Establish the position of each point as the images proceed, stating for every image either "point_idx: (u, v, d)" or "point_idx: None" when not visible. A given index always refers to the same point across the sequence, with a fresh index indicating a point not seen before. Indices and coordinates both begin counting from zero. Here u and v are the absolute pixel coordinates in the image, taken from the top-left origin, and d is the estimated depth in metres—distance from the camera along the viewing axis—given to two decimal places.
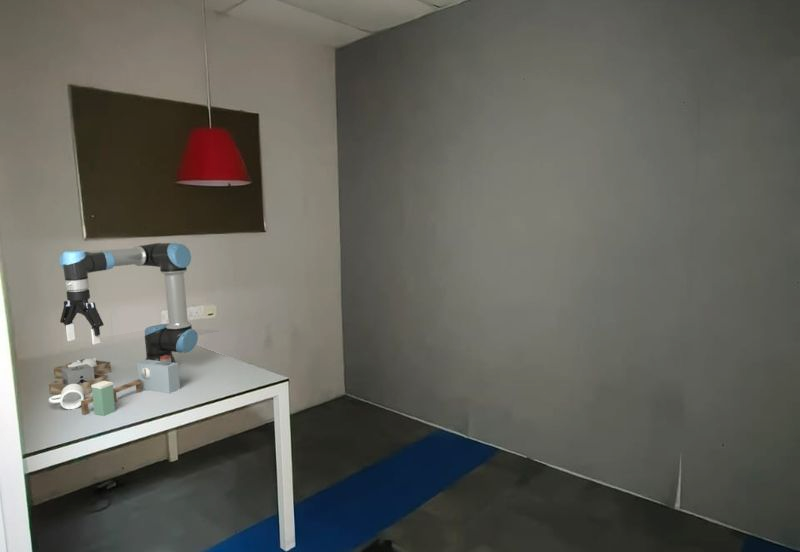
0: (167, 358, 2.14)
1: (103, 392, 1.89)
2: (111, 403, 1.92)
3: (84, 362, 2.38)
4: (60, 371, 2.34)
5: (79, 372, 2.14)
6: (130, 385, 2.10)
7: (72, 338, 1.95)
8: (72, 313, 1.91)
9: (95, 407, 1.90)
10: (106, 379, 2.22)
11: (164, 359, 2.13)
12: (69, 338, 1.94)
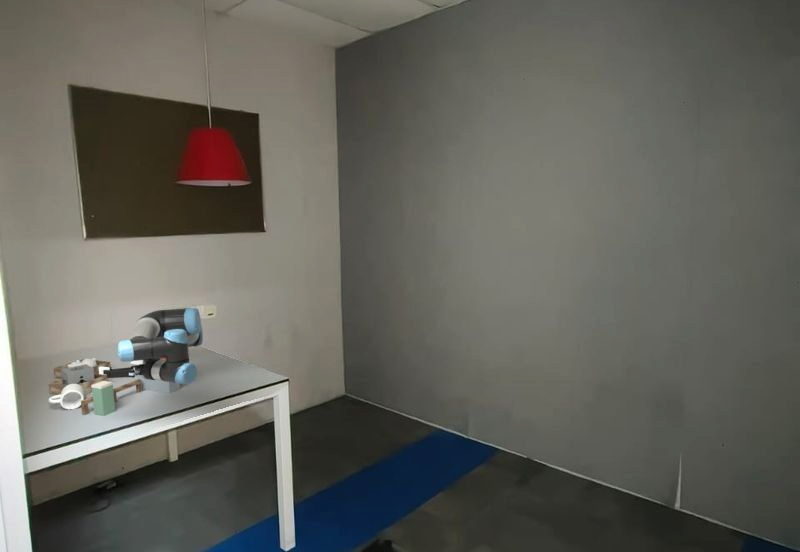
0: None
1: (103, 392, 1.89)
2: (111, 403, 1.92)
3: (84, 362, 2.38)
4: (60, 371, 2.34)
5: (79, 372, 2.13)
6: (130, 385, 2.10)
7: None
8: None
9: (95, 407, 1.90)
10: (106, 379, 2.22)
11: (164, 359, 2.13)
12: None
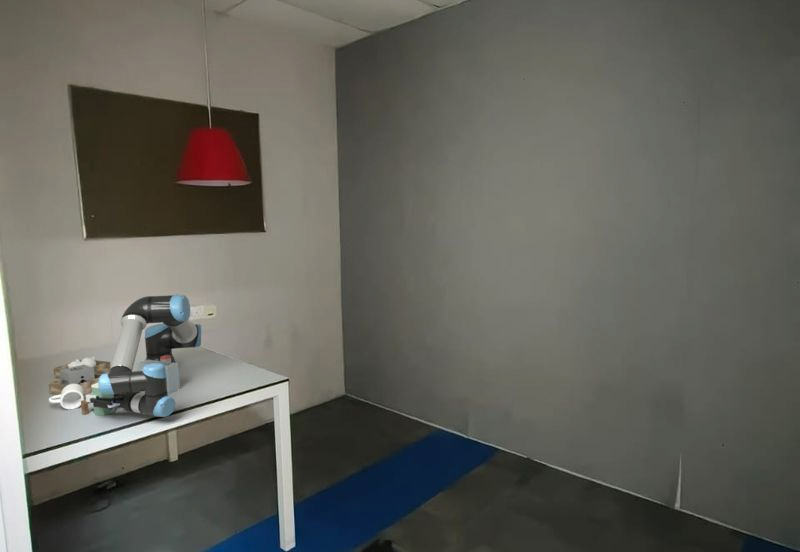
0: (167, 358, 2.14)
1: None
2: None
3: (84, 361, 2.40)
4: None
5: (80, 372, 2.13)
6: None
7: None
8: None
9: (95, 407, 1.90)
10: None
11: (164, 359, 2.13)
12: None
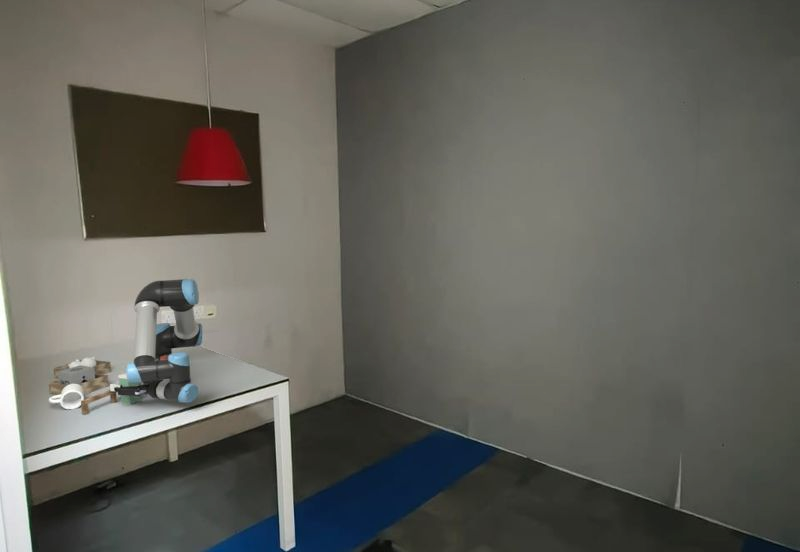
0: (167, 358, 2.14)
1: None
2: None
3: (85, 361, 2.40)
4: None
5: (81, 372, 2.13)
6: None
7: None
8: None
9: (122, 396, 2.01)
10: (106, 379, 2.22)
11: (164, 359, 2.13)
12: None
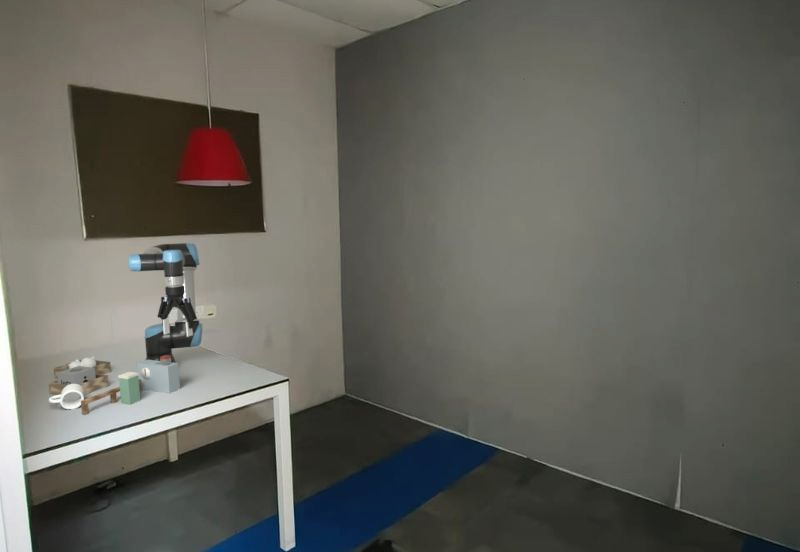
0: (167, 358, 2.14)
1: (130, 382, 2.00)
2: (137, 393, 2.03)
3: (85, 361, 2.40)
4: (60, 371, 2.34)
5: (83, 372, 2.13)
6: None
7: (167, 332, 2.13)
8: (169, 308, 2.10)
9: (122, 396, 2.01)
10: (106, 379, 2.22)
11: (164, 359, 2.13)
12: (165, 331, 2.12)
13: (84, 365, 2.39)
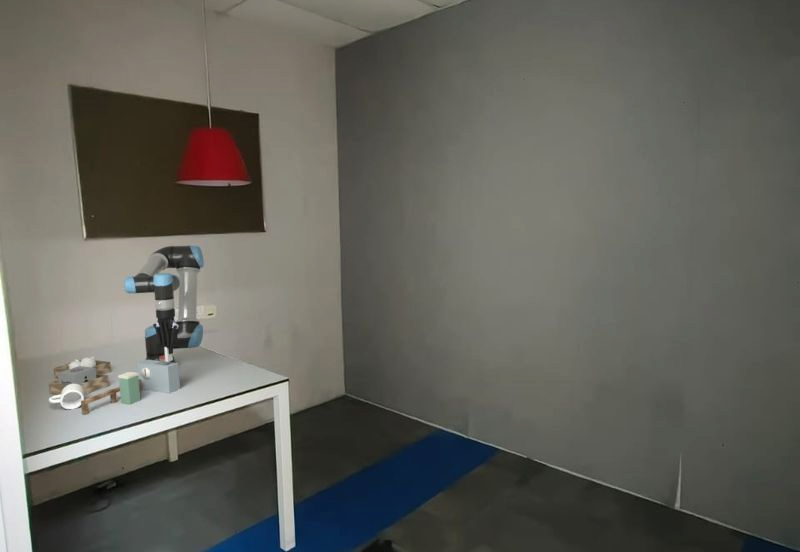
0: None
1: (130, 382, 2.00)
2: (137, 393, 2.03)
3: (85, 361, 2.40)
4: (60, 371, 2.34)
5: (83, 372, 2.13)
6: None
7: None
8: (164, 331, 2.13)
9: (122, 396, 2.01)
10: (106, 379, 2.22)
11: (163, 359, 2.14)
12: None
13: (84, 365, 2.39)
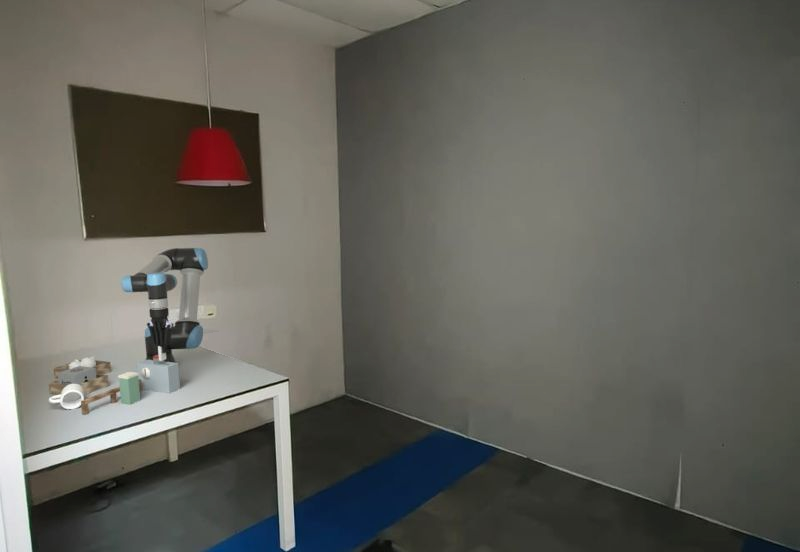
0: None
1: (130, 382, 2.00)
2: (137, 393, 2.03)
3: (85, 361, 2.40)
4: (60, 371, 2.34)
5: (83, 372, 2.13)
6: None
7: None
8: (157, 330, 2.14)
9: (122, 396, 2.01)
10: (106, 379, 2.22)
11: (157, 358, 2.15)
12: None
13: (84, 365, 2.39)
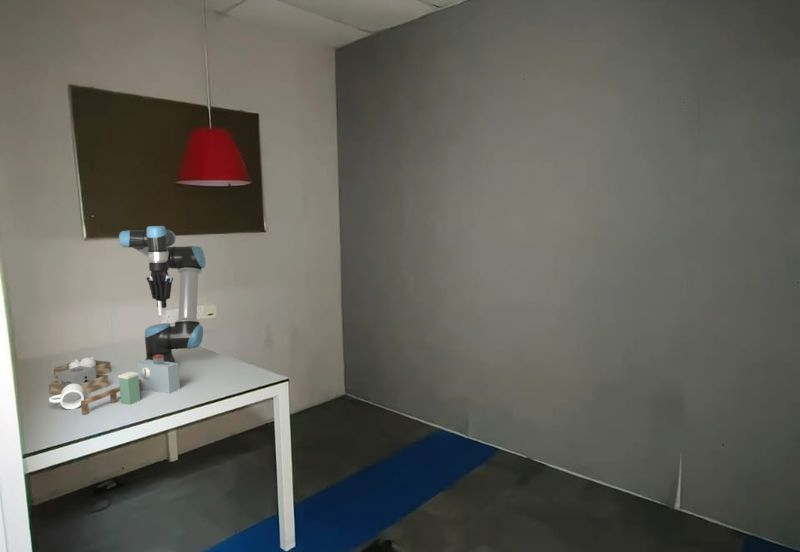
0: (160, 357, 2.16)
1: (130, 382, 2.00)
2: (137, 393, 2.03)
3: (85, 360, 2.40)
4: (60, 371, 2.34)
5: (83, 372, 2.13)
6: None
7: None
8: (157, 284, 2.10)
9: (122, 396, 2.01)
10: (106, 379, 2.22)
11: (157, 358, 2.15)
12: None
13: (84, 365, 2.39)
